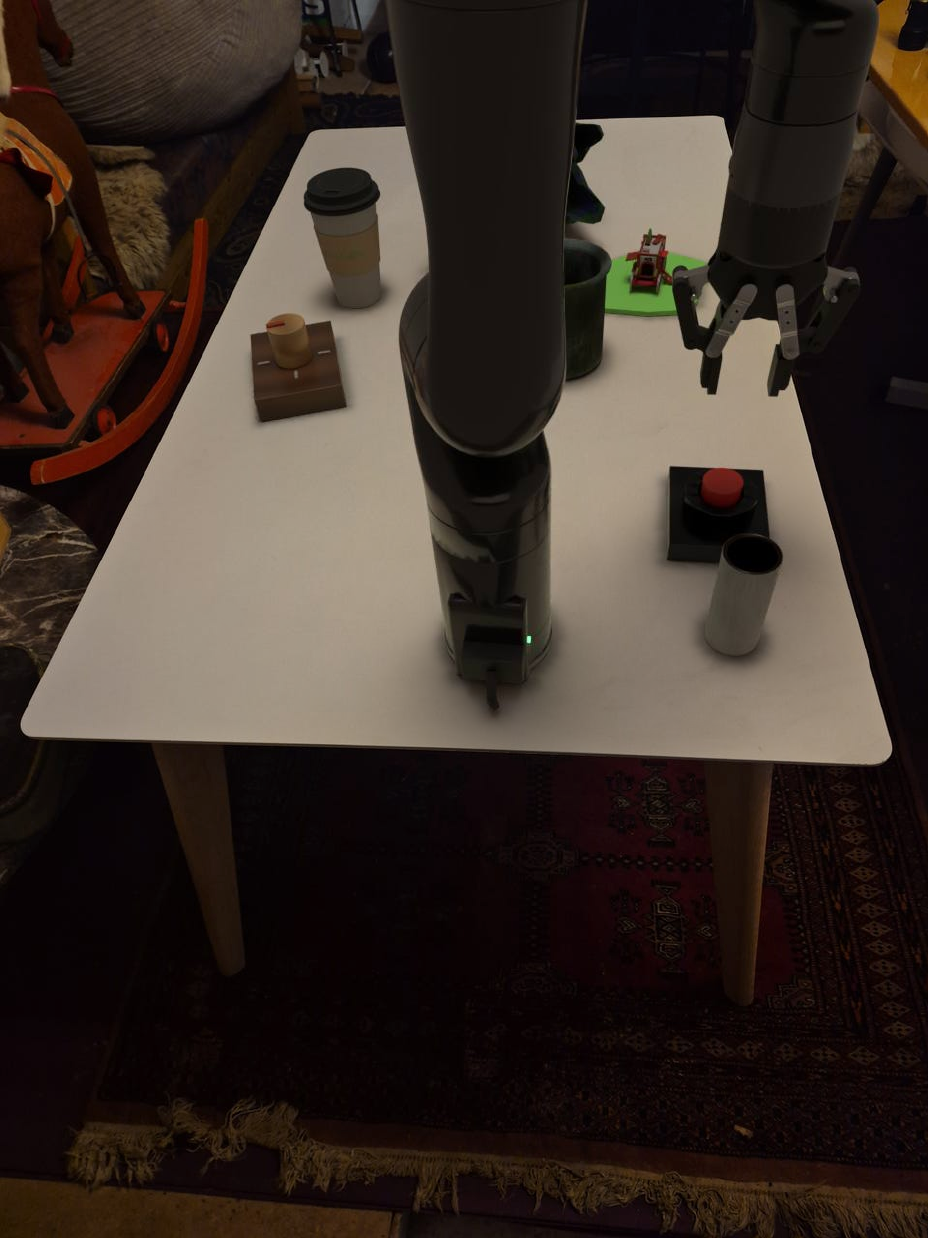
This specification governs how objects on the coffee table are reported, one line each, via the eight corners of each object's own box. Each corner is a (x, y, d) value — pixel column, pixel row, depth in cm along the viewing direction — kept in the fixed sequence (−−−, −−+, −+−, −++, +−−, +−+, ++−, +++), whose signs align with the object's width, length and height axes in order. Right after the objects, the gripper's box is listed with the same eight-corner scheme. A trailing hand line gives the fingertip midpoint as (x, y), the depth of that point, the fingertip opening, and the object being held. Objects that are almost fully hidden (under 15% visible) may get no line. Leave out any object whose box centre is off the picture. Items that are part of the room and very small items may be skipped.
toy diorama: (707, 259, 114) (713, 212, 110) (693, 320, 105) (699, 272, 101) (595, 251, 118) (597, 206, 113) (572, 309, 109) (573, 262, 104)
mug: (601, 387, 98) (606, 289, 89) (476, 380, 101) (469, 284, 91) (610, 334, 105) (616, 238, 95) (493, 329, 107) (487, 235, 98)
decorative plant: (565, 260, 135) (574, 313, 110) (410, 195, 131) (383, 235, 106) (625, 118, 124) (650, 142, 99) (456, 42, 120) (439, 47, 95)
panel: (346, 406, 99) (341, 383, 97) (261, 422, 99) (253, 399, 96) (335, 341, 108) (330, 318, 106) (256, 355, 108) (249, 332, 105)
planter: (750, 613, 75) (774, 529, 67) (764, 654, 72) (790, 572, 65) (699, 617, 76) (716, 534, 68) (710, 658, 73) (730, 576, 65)
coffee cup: (331, 321, 111) (306, 205, 100) (319, 286, 117) (294, 173, 106) (401, 306, 112) (385, 189, 101) (386, 272, 118) (369, 158, 107)
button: (741, 508, 79) (744, 494, 77) (700, 506, 79) (703, 492, 78) (739, 482, 81) (742, 468, 80) (700, 480, 81) (702, 466, 80)
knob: (309, 344, 103) (301, 307, 99) (315, 364, 100) (306, 327, 96) (273, 351, 102) (263, 315, 99) (277, 372, 99) (267, 335, 96)
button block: (766, 566, 79) (775, 535, 76) (666, 560, 80) (671, 530, 77) (759, 486, 86) (767, 455, 83) (667, 482, 87) (671, 451, 84)
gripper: (677, 203, 57) (653, 415, 70) (906, 202, 55) (837, 421, 68) (677, 154, 62) (654, 361, 75) (888, 152, 59) (826, 366, 72)
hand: (741, 389), depth 71 cm, fingers open, 4 cm apart
